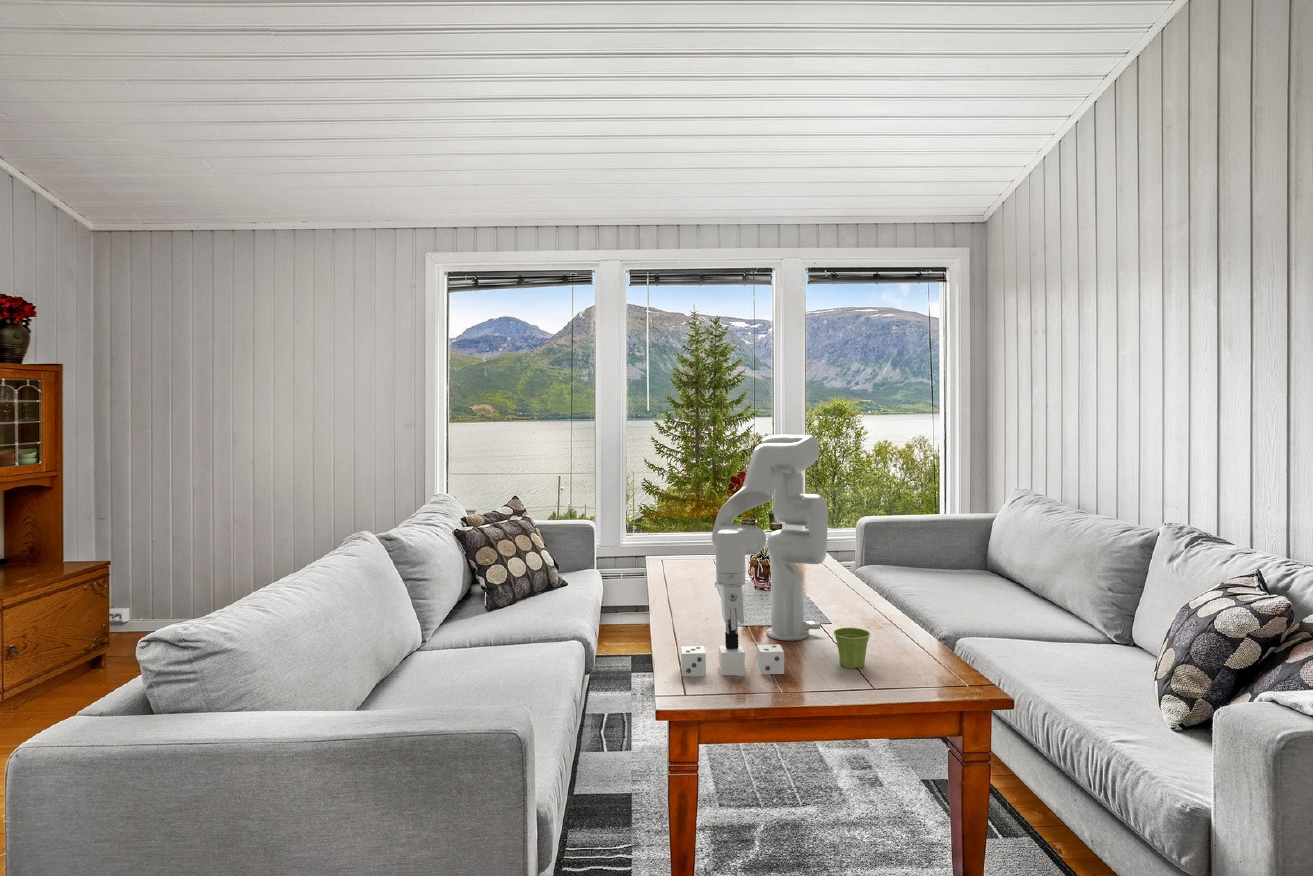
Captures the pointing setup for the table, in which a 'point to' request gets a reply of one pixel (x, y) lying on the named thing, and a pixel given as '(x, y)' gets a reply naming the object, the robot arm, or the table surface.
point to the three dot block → (693, 661)
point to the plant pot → (852, 646)
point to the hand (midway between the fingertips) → (731, 647)
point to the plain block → (732, 661)
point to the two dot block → (770, 659)
